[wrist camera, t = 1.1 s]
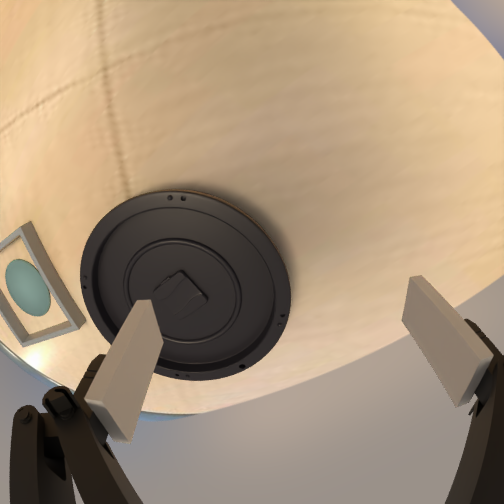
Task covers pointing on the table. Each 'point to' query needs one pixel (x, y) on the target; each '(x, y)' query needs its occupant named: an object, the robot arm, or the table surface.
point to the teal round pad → (27, 287)
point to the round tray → (189, 281)
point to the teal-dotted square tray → (54, 286)
